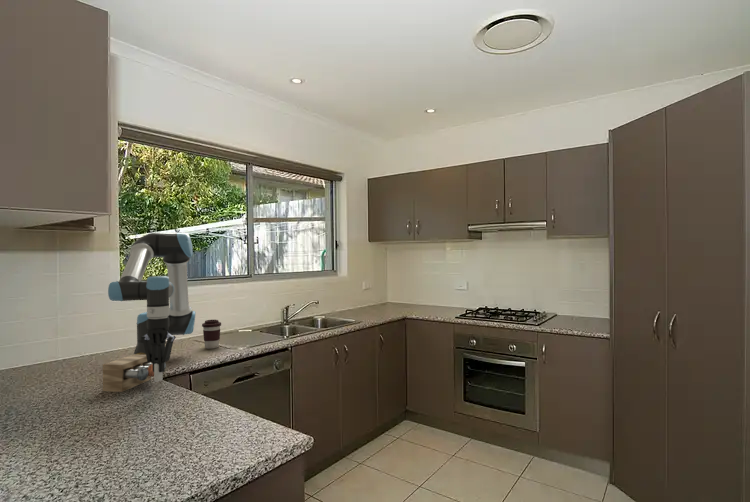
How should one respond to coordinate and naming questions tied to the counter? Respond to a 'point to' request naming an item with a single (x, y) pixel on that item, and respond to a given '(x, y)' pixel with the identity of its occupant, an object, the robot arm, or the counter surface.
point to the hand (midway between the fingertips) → (158, 380)
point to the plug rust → (150, 368)
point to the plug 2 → (151, 363)
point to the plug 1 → (136, 374)
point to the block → (115, 373)
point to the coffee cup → (211, 333)
